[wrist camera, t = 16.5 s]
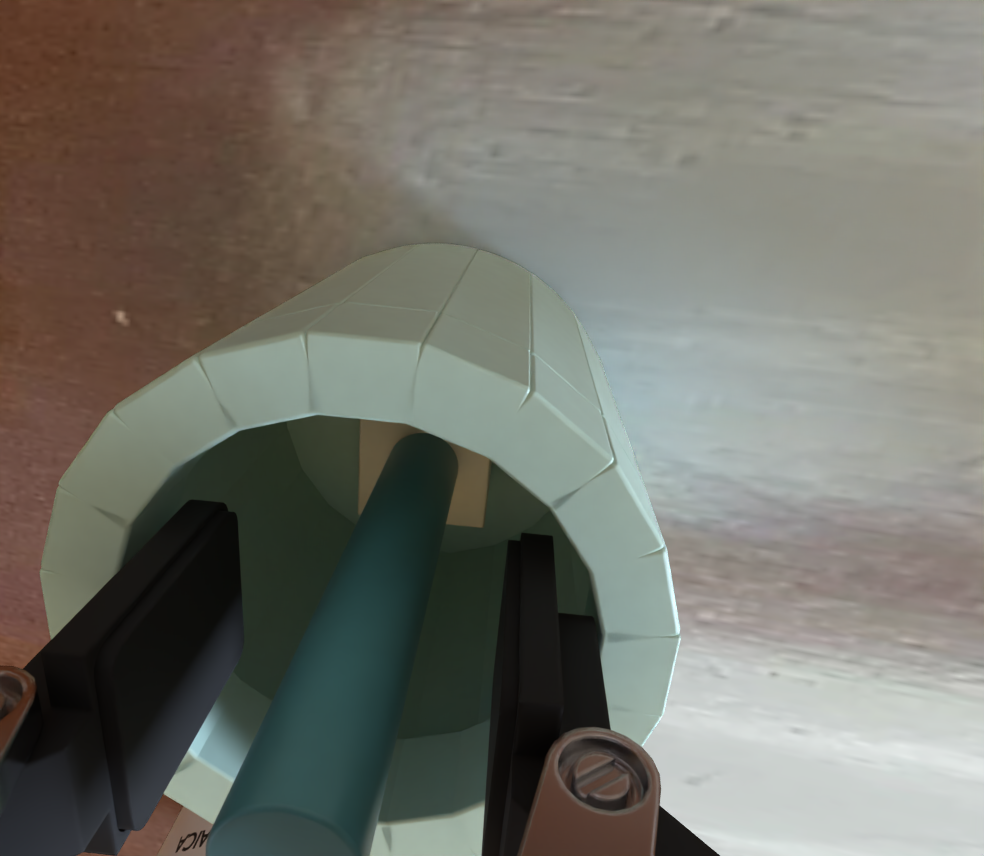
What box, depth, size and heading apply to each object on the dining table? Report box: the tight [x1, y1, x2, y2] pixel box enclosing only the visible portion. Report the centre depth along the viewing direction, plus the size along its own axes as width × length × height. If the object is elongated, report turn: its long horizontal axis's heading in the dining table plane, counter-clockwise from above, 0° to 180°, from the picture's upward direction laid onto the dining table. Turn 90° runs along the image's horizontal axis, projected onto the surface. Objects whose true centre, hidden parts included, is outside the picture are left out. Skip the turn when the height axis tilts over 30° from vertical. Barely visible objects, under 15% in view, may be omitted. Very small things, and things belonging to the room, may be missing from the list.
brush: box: [206, 419, 492, 856], centre depth 14 cm, size 3×3×14 cm
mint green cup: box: [40, 243, 681, 856], centre depth 16 cm, size 10×10×11 cm
